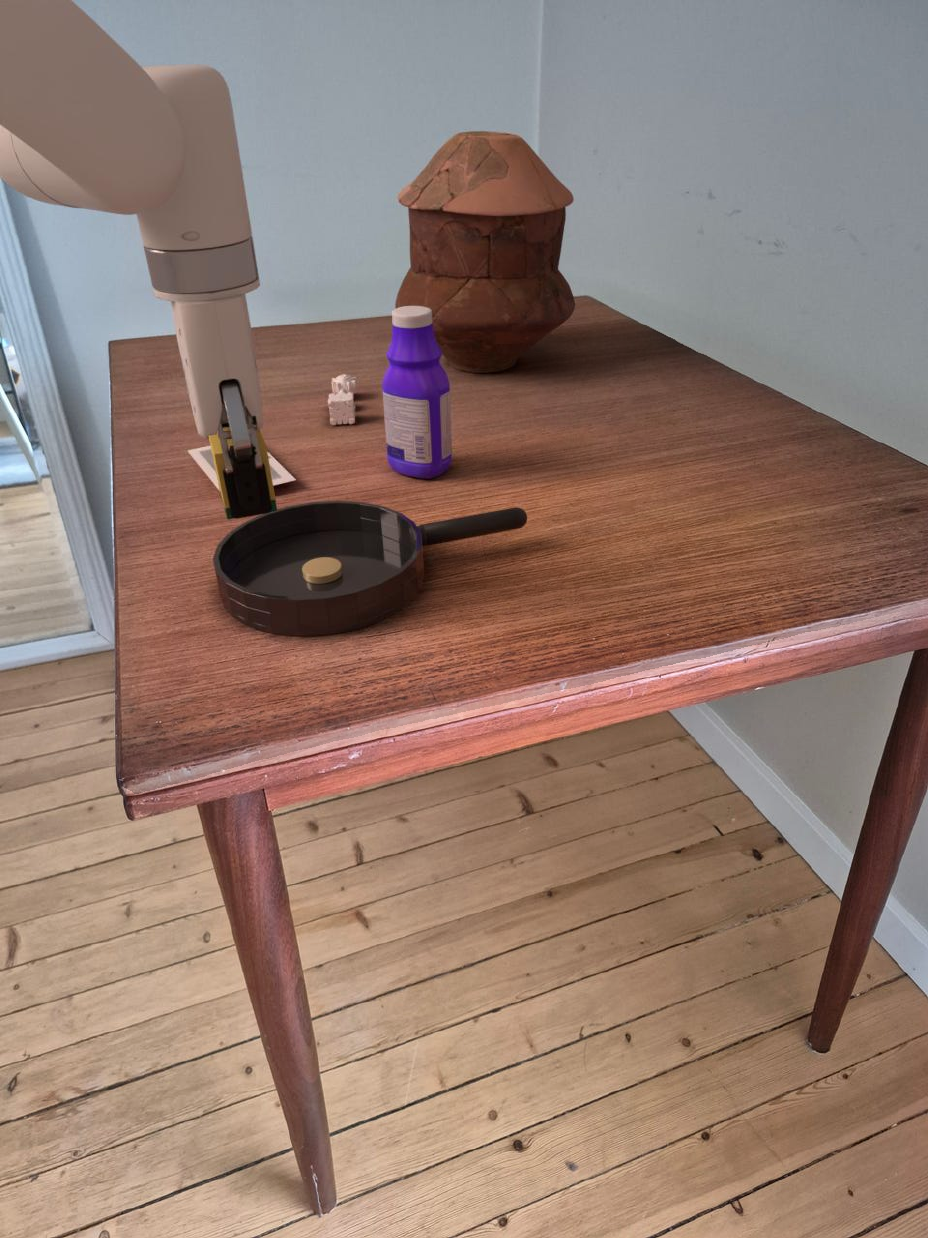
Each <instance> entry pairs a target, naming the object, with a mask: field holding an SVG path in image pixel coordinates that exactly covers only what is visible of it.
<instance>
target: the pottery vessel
mask: <svg viewBox="0 0 928 1238" xmlns="http://www.w3.org/2000/svg"><path fill="white" fill-rule="evenodd" d="M396 198H397V201H398V203H399V204H400V205H401V206H403V207H405V208H408V209H407V211H408V212H407V213H408V222H409V223H408V225H409V260H410V261H409V262H410V268H409V269H408V270H407V272H406V274H405V276H404V278H403V280H402V282H401V284H400V287H399V289H398V292H397V295H396V299H395V306H394V309H396V308H399V307H404V306H423V307H427V308H430V309H431V310H432V321H433V332H434V336H435V340H436V342H437V344H438V346H439V348H440V349H441V351H442V355H441V356H442V357H444V358H445V359H446V360H447V362H448V363H449V365H450V366H451V367H452V368H453V369H455V370H458V371H462V372H466V373H471V374H472V373H473V374H485V373H497V372H502V371H506V370H508V369H510V368H512V367H514V366H515V365H516V364H517V361H518V358H519V357H521V355H523V354H524V353H525V352H526V351H527V350H529V349H531V348H532V347H533V346H534V345H536V344H537V343H538V342H539V341H541V340H542V339H544V338H545V336H547V335H549V334H550V333H551V332H553V331H554V330H556V329H557V328H559V327H560V326H561V325H563V324H564V323H566V322H567V321H568V320H569V319H570V318H571V316H572V315H573V314H574V311H575V310H576V302H575V297H574V294H573V291H572V289H571V286H570V283H569V282H568V281H567V279H566V278H565V275H563V274H562V272H561V271H560V269H559V265H560V260H561V254H562V246H563V240H564V233H565V225H566V218H567V212H566V211H567V210H566V209H567V208H566V207H569V206H571V205H572V204H573V202H574V200H575V199H574V195H573V193H572V192H571V191H570V189H569V188H568V187H566V185H564V183H562V182H561V181H560V180H559V179H558V178H557V176H556V175H555V174H554V173H553V172H552V171H551V169H549V167H548V166H547V165H546V163H545V162H544V161H543V160H542V159H541V157H539V155H538V154H537V153H536V152H535V150H534V149H533V148H532V147H531V146H530V144H529V143H528V142H527V141H525V139H524V138H522V137H521V136H520V135H517V134H514V133H508V132H498V131H486V130H475V131H474V130H473V131H471V130H470V131H462V132H457V133H455V134H454V135H453V136H452V137H450V138H449V139H447V141H446V142H445V143H444V144H443V145H441V146H440V147H439V148H438V150H437V151H436V152H435V153H434V154H433V156H432V157H431V159H430V161H428V163H427V165H426V166H425V167H424V168H423V169H422V171H421V172H420V173H419V174H418V175H417V176H416V177H415V178H414V179H413V180H412V181H411V182H410V183H409V184H407V185H406V186H404V187H403V188H402V189H401V190H400V191H399V192H398V194H397V197H396Z"/></svg>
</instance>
